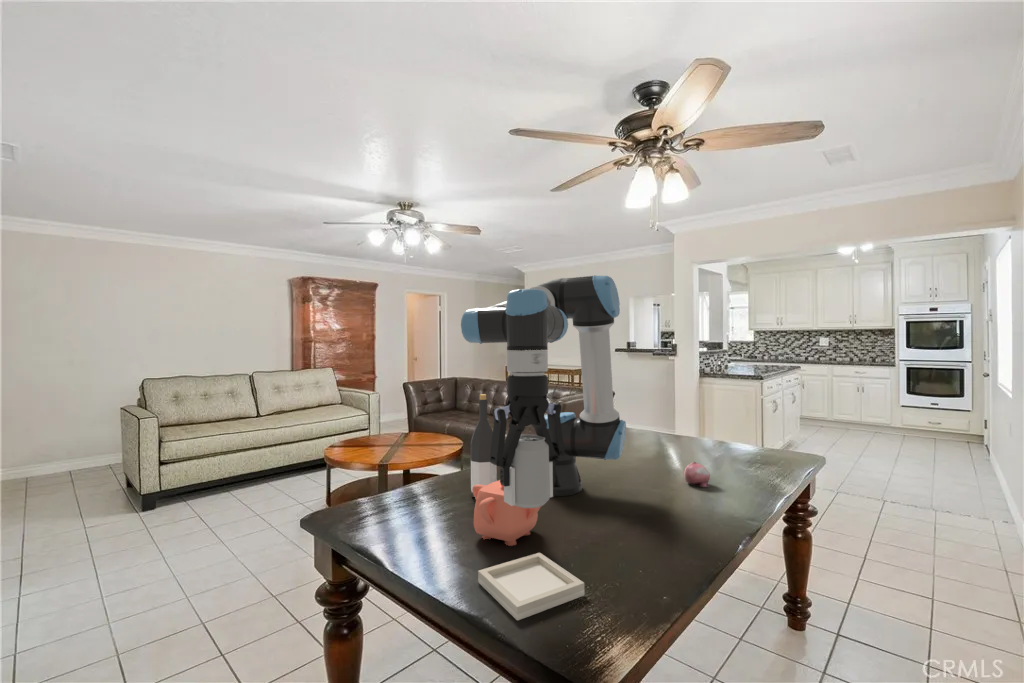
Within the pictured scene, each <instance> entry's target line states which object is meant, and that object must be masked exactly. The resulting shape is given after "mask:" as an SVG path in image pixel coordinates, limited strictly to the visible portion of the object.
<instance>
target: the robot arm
mask: <svg viewBox="0 0 1024 683" xmlns="http://www.w3.org/2000/svg"><path fill="white" fill-rule="evenodd" d="M506 295H507V296H506V301H503V302H500V303H497V304H494V305H491V306H488V307H482V308H481V307H480V308H479V307H476V308H469V309H467V310H465V312H463V314H462V317H461V321H460V328H461V329H460V330H461V334H462V337H463V339H464V340H465V341H467V342H468V343H470V344H471V343H473V344H474V343H475V344H493V343H494V344H497V343H498V344H499V343H501V344H503V343H506V372H508V373H509V375H508V376H507V377H506V389H507V390H506V392H507V397H508V398H507V399H508V400H507V402H506V406H502V407H499V408H498V407H493V409H492V411H491V412H492V417H493V429H492V431H493V436H492V444H491V453H490V463H492V464H494V465H496V466H497V467H499V480H500V483H501V485H503V486H504V502H506V503H507V504H509V505H511V506H514V505H515V468H514V467H511V464H512V461H513V458H514V455H515V450H516V448H517V445H518V441H519V439H520V436H521V435H522V433H523V432H524V431H525V428H526V427H528V426H530V425H531V426H532V427H533V429H534V431H535V435H538V436H541V437H545V442H546V443H547V444H548V445H549V498H554V497H566V496H573V495H576V494H579V493H581V492H582V490H583V482H582V479H581V476H580V472H579V468H578V467H577V458H585V459H587V458H588V459H596V460H604V461H606V460H612V461H616V460H619V459H620V458H621V456H622V453H623V451H624V446H625V441H626V435H627V434H626V432H627V423H626V421H625V420H623V419H620V412H619V411H617V410H616V409H615V408H614V394H613V392H614V391H613V389H614V388H613V373H612V371H613V370H612V359H611V358H612V355H611V353H612V352H611V339H610V336H611V335H610V329H611V327H612V326H613V325H615V318H618V317H619V315H620V313H621V312H620V310H621V309H620V305H621V303H620V297H619V292H618V289H617V285H616V283H615V281H614V279H613V278H612V277H611V276H610V275H609V276H608V275H589V276H588V275H587V276H578V277H577V276H576V277H566V278H565V277H562V278H561V277H560V278H556V279H552V280H548V281H546V282H542V283H539V284H537V285H535V286H531V288H530V287H529V288H522V289H521V288H520V289H519V288H518V289H514V290H511V291H509V292H508V293H507V294H506ZM569 319H571V320H572V327H574V328H575V329H576V330H577V331H578V340H579V341H578V342H579V353H580V354H579V355H580V368H581V370H580V371H581V380H582V381H581V382H582V396H583V398H582V399H583V408H584V409H583V410H582V411H581V412H580V413H579V417H577V415H576V413H575V412H569V411H566V412H562V405H561V404H560V403H556V402H550V401H549V400H548V398H547V395H548V394H549V377H548V376H547V374H545V373H547V372H548V371H549V368H548V365H549V364H548V361H549V360H548V359H549V358H548V357H549V354H548V353H549V352H548V350H549V349H548V348H549V346H548V343H551V344H552V343H555V342H557V341H560V340H561V339H562V338H564V336H565V335H566V334H567V332H568V328H569V321H568V320H569ZM546 413H547V414H546ZM509 416H510V420H509V424H508V425H507V422H508V421H507V419H508V418H509ZM507 426H508V432H507ZM506 433H507V435H506Z"/></svg>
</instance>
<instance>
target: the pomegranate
mask: <svg viewBox="0 0 1024 683" xmlns="http://www.w3.org/2000/svg"><path fill="white" fill-rule="evenodd" d="M710 479H711V473H710V471H709V469H707V467H705V465H702V464H700V463H697V462H695V461H693V462H691V463H689V464H687V466H686V467H685V468H684V480H685V482H686V483H687V484H688V485H692V486H695V487H699V488H710V485H708V483H709V481H710Z"/></svg>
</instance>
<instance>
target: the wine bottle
mask: <svg viewBox="0 0 1024 683" xmlns="http://www.w3.org/2000/svg"><path fill="white" fill-rule="evenodd" d="M478 405H479V406H478V410H479V411H478V416H479V418H478V419H479V420H478V421H477V424H476V425H475V428H474V430H473V433H472V435H471V440H470V490H471V491H470V492H471V493H470V494H471V497H472V496H473V497H474V494H473V491H472V488H473V486H474V485H477V484H480V485H488V484H490V483H493V482H495V481H498V472H497V468H498V466H496V465H494V464H492V463H490V453H491V444H492V436H493V429H492V427H491V425H490V423H489V421H488V399H487V394H486V393H481V394H479V399H478Z"/></svg>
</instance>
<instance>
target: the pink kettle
mask: <svg viewBox="0 0 1024 683" xmlns="http://www.w3.org/2000/svg"><path fill="white" fill-rule="evenodd" d="M472 491H473V494H474V497H475V498H474V499H475V504H474V510H473V512H474V513H473V527H474V530H475V533H476V534H478V535H481V539H482V538H483V539H482V540H485V539H489V540H491V538H492V539H495V540H501V541H503V542H504V544H506V545H505V546H507V545H508V547H513V545H514V546H516V545H517V540H518V539H520V538H521V537H523V536H525V537H526V536H530V535H531V533H532V532H531V531H532V529H533V528H535V526H536V525H537V521H538V518H539V517H538V516H539V514H538V513H539V511H540V509H541V508H542V506H541V507H537V508H521V507H517V506H515V505H514V506H511V505H509V504H507V503H506V502H504V486H503V485H501V483H500V479H499V480H498V479H497V481H495V482H493V483H490V484H488V485H480V484H477V485H474V486H473V488H472Z"/></svg>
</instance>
